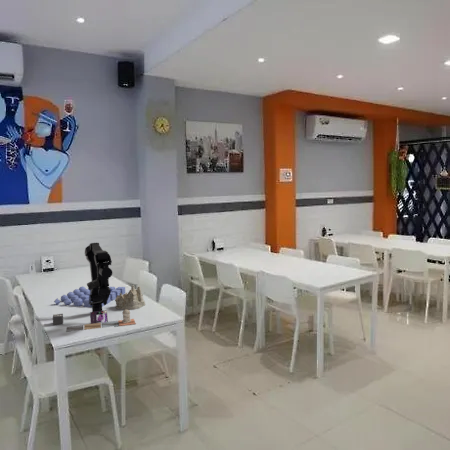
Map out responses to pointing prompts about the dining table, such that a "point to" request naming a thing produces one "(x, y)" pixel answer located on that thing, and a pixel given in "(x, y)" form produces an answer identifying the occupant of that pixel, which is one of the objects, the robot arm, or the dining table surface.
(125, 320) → the pawn
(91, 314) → the game card
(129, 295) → the sand castle
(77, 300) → the blocks
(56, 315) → the die
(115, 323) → the game board
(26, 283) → the dining table surface
